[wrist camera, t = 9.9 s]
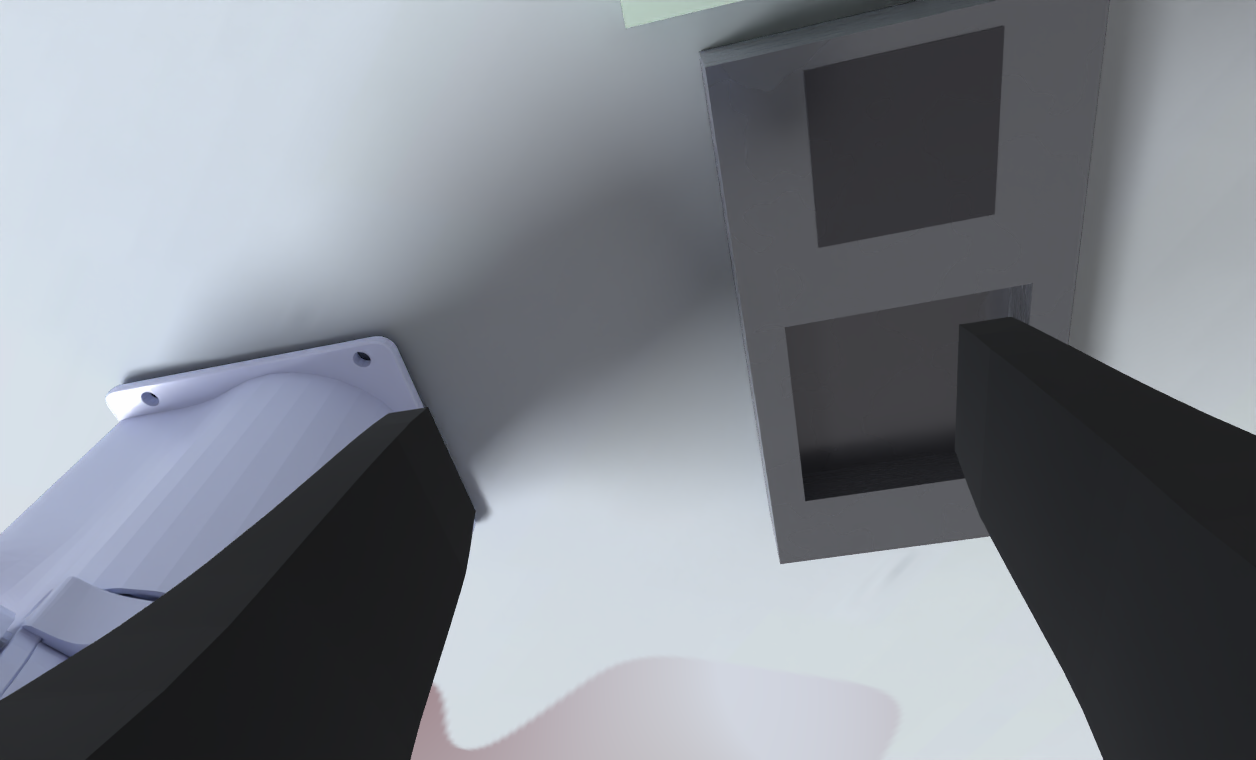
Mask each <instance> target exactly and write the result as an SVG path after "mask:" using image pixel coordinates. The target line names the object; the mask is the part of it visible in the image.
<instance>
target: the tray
mask: <svg viewBox="0 0 1256 760" xmlns="http://www.w3.org/2000/svg"><path fill="white" fill-rule="evenodd" d="M738 1H743V0H620V2H621V7H622V12H623V17H624V22H625V27H626V28H631V27H635V26H639V25H643V24H647V23H651V22H655V21H660V20H664V19H668V18H672V17H676V16H680V15H685V14H689V13H693V12H697V11H701V10H705V9H709V8H714V7H718V6H722V5H726V4H730V3H734V2H738Z"/></svg>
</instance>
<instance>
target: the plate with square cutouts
mask: <svg viewBox="0 0 1256 760" xmlns="http://www.w3.org/2000/svg"><path fill="white" fill-rule="evenodd" d="M1109 2H1110V0H918V1H914V2H910V3H905V4H901V5H897V6H893V7H888V8H884V9H880V10H875V11H871V12H867V13H863V14H858V15H854V16H850V17H845V18H841V19H837V20H833V21H828V22H824V23H820V24H815V25H811V26H807V27H803V28H798V29H794V30H790V31H785V32H781V33H777V34H773V35H768V36H764V37H760V38H755V39H751V40H747V41H743V42H738V43H734V44H730V45H725V46H721V47H717V48H713V49H708V50H704V51H700V52H699V55H700V62H701V68H702V75H703V81H704V88H705V94H706V101H707V107H708V114H709V120H710V127H711V133H712V140H713V146H714V153H715V159H716V166H717V172H718V179H719V185H720V191H721V198H722V204H723V211H724V217H725V224H726V230H727V237H728V243H729V250H730V256H731V263H732V269H733V276H734V282H735V289H736V295H737V302H738V308H739V315H740V321H741V328H742V334H743V341H744V347H745V354H746V360H747V367H748V373H749V380H750V386H751V393H752V399H753V406H754V412H755V419H756V425H757V431H758V438H759V444H760V451H761V457H762V464H763V470H764V477H765V483H766V490H767V496H768V503H769V509H770V516H771V521H772V526H773V531H774V535H775V540H776V545H777V550H778V555H779V560H780V564H784V563H792V562H799V561H807V560H815V559H822V558H830V557H837V556H845V555H852V554H860V553H867V552H875V551H882V550H890V549H897V548H905V547H912V546H920V545H927V544H935V543H943V542H950V541H958V540H965V539H973V538H980V537H988V536H990V535H989V533H988V531H987V529H986V527H985V525H984V523H983V522H982V520H981V518H980V516H979V513H978V511H977V508H976V506H975V503H974V500H973V498H972V495H971V493H970V490H969V488H968V485H967V482H966V479H965V477H964V474H963V471H962V468H961V466H960V463H959V460H958V457H957V455H956V452H955V428H956V399H957V370H958V342H959V325H960V324H966V323H973V322H979V321H986V320H992V319H998V318H1005V317H1013V318H1015V319H1017V320H1020V321H1022V322H1024V323H1026V324H1028V325H1030V326H1032V327H1034V328H1036V329H1038V330H1040V331H1042V332H1044V333H1046V334H1048V335H1050V336H1052V337H1054V338H1056V339H1058V340H1060V341H1062V342H1064V343H1066V344H1067V345H1068V341H1069V333H1070V325H1071V316H1072V308H1073V300H1074V291H1075V283H1076V275H1077V267H1078V258H1079V250H1080V242H1081V233H1082V225H1083V217H1084V209H1085V200H1086V192H1087V184H1088V176H1089V167H1090V159H1091V151H1092V142H1093V134H1094V126H1095V118H1096V109H1097V101H1098V93H1099V84H1100V76H1101V68H1102V60H1103V51H1104V43H1105V35H1106V27H1107V18H1108V10H1109Z"/></svg>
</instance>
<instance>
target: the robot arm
mask: <svg viewBox="0 0 1256 760" xmlns="http://www.w3.org/2000/svg"><path fill="white" fill-rule="evenodd" d="M358 352H363V353H365V354H367V355H368V356H369V357H370V359H371V360H364V359H362V358H360V356H359V355H358ZM150 393H153V394H155V395H156V396H157V397H158V399H157V398H155V397H153V396H152V395H151V394H150ZM106 403H107V405H108V407H109V408H110V410H111V411H112V412H113V414H114V415H115V416H116V418H117V419H118V421H119V423H118V424H117V425H116V426H115V427H114V428H113V429H112V430H111V431H110V432H108V433H107V434H106V435H105V436H104V437H103V438H102V439H101V440H100V441H99V442H98V443H97V444H96V445H95V446H94V447H92V448H91V449H90V450H89V451H88V452H87V453H86V454H85V455H84V456H83V457H82V458H81V459H80V460H79V461H78V462H77V463H75V464H74V465H73V466H72V467H71V468H70V469H69V470H68V471H67V472H66V473H65V474H64V475H63V476H62V477H61V478H60V479H58V480H57V481H56V482H55V483H54V484H53V485H52V486H51V487H50V488H49V489H48V490H47V491H46V492H45V493H44V494H42V495H41V496H40V497H39V498H38V499H37V500H36V501H35V502H34V503H33V504H32V505H31V506H30V507H29V508H28V509H27V510H25V511H24V512H23V513H22V514H21V515H20V516H19V517H18V518H17V519H16V520H15V521H14V522H13V523H12V524H11V525H10V526H8V527H7V528H6V529H5V530H4V531H3V532H2V533H1V534H0V760H410V759H411V755H412V751H413V747H414V743H415V740H416V736H417V732H418V729H419V725H420V721H421V718H422V715H423V711H424V708H425V705H426V702H427V699H428V696H429V692H430V689H431V686H432V683H433V679H434V676H435V673H436V670H437V667H438V663H439V660H440V657H441V654H442V651H443V647H444V644H445V641H446V638H447V635H448V631H449V628H450V625H451V622H452V618H453V615H454V612H455V608H456V605H457V602H458V598H459V595H460V592H461V588H462V585H463V581H464V578H465V574H466V569H467V563H468V558H469V552H470V546H471V539H472V533H473V531H474V527H475V520H474V518H475V509H474V507H473V505H472V503H471V500H470V498H469V496H468V494H467V492H466V490H465V487H464V485H463V483H462V481H461V479H460V476H459V474H458V472H457V470H456V468H455V466H454V463H453V461H452V459H451V457H450V455H449V452H448V450H447V448H446V446H445V444H444V441H443V439H442V437H441V435H440V433H439V431H438V428H437V426H436V424H435V422H434V420H433V417H432V415H431V413H430V411H429V409H428V407H425V408H424V406H423V404H422V402H421V400H420V397H419V395H418V393H417V391H416V388H415V386H414V384H413V382H412V380H411V377H410V375H409V373H408V371H407V368H406V366H405V364H404V362H403V360H402V357H401V355H400V353H399V351H398V348H397V347H396V345H395V344H394V343H393V342H392V341H391V340H389V339H388V338H385V337H382V336H374V337H368V338H363V339H358V340H353V341H347V342H342V343H337V344H332V345H326V346H321V347H316V348H311V349H305V350H300V351H295V352H290V353H284V354H279V355H274V356H269V357H263V358H258V359H253V360H248V361H242V362H237V363H232V364H227V365H221V366H216V367H211V368H206V369H200V370H195V371H190V372H185V373H179V374H174V375H169V376H164V377H158V378H153V379H148V380H143V381H137V382H132V383H127V384H122V385H118V386H116V387H114V388H113V389H111V390H110V391H109V392H108V393H107V395H106ZM955 452H956V455H957V457H958V460H959V463H960V466H961V468H962V471H963V474H964V477H965V479H966V482H967V485H968V488H969V490H970V493H971V495H972V498H973V500H974V503H975V506H976V508H977V511H978V513H979V516H980V518H981V520H982V522H983V523H984V525H985V527H986V529H987V531H988V533H989V535H990V537H991V539H992V541H993V542H994V544H995V546H996V548H997V550H998V552H999V554H1000V555H1001V557H1002V559H1003V561H1004V563H1005V565H1006V567H1007V568H1008V570H1009V572H1010V574H1011V576H1012V578H1013V579H1014V581H1015V583H1016V585H1017V587H1018V589H1019V590H1020V592H1021V594H1022V596H1023V598H1024V600H1025V601H1026V603H1027V605H1028V607H1029V609H1030V611H1031V612H1032V614H1033V616H1034V618H1035V620H1036V622H1037V623H1038V625H1039V627H1040V629H1041V631H1042V633H1043V634H1044V636H1045V638H1046V640H1047V642H1048V644H1049V645H1050V647H1051V649H1052V651H1053V653H1054V655H1055V656H1056V658H1057V660H1058V662H1059V664H1060V666H1061V667H1062V669H1063V671H1064V673H1065V675H1066V677H1067V679H1068V681H1069V683H1070V685H1071V687H1072V689H1073V691H1074V693H1075V696H1076V698H1077V700H1078V702H1079V704H1080V706H1081V708H1082V710H1083V712H1084V714H1085V717H1086V719H1087V722H1088V724H1089V726H1090V729H1091V731H1092V733H1093V736H1094V738H1095V741H1096V743H1097V745H1098V748H1099V750H1100V752H1101V755H1102V757H1103V760H1256V435H1254V434H1251V433H1249V432H1247V431H1245V430H1242V429H1240V428H1238V427H1236V426H1233V425H1231V424H1229V423H1226V422H1224V421H1222V420H1220V419H1217V418H1215V417H1213V416H1210V415H1208V414H1206V413H1204V412H1202V411H1200V410H1197V409H1195V408H1193V407H1191V406H1189V405H1187V404H1185V403H1183V402H1180V401H1178V400H1176V399H1174V398H1172V397H1170V396H1168V395H1166V394H1164V393H1162V392H1160V391H1157V390H1155V389H1153V388H1151V387H1149V386H1147V385H1145V384H1143V383H1141V382H1139V381H1137V380H1135V379H1133V378H1131V377H1129V376H1127V375H1125V374H1123V373H1121V372H1119V371H1118V370H1116V369H1114V368H1112V367H1110V366H1108V365H1106V364H1104V363H1102V362H1100V361H1098V360H1096V359H1094V358H1092V357H1090V356H1089V355H1087V354H1085V353H1083V352H1081V351H1079V350H1077V349H1075V348H1073V347H1071V346H1069V345H1067V344H1066V343H1064V342H1062V341H1060V340H1058V339H1056V338H1054V337H1052V336H1050V335H1048V334H1046V333H1044V332H1042V331H1040V330H1038V329H1036V328H1034V327H1032V326H1030V325H1028V324H1026V323H1024V322H1022V321H1020V320H1017V319H1015V318H1013V317H1005V318H998V319H992V320H986V321H979V322H973V323H966V324H960V325H959V342H958V370H957V399H956V428H955Z"/></svg>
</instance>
